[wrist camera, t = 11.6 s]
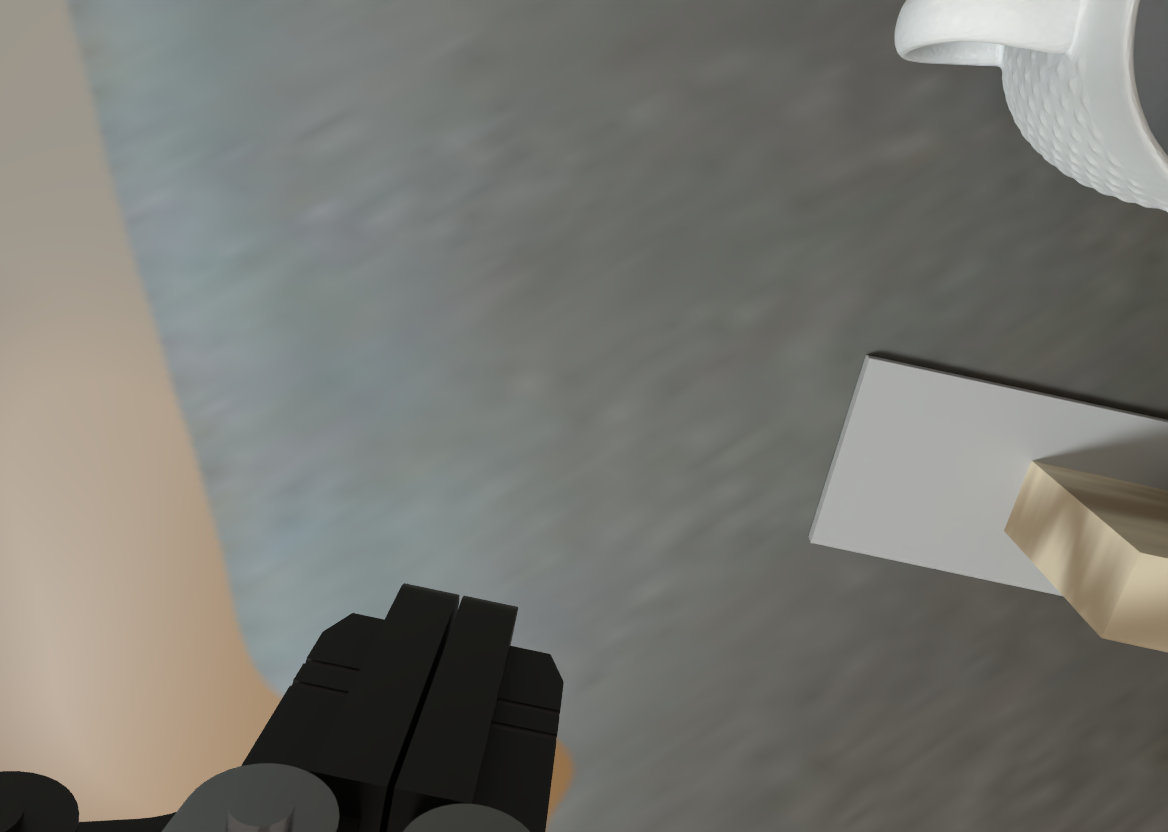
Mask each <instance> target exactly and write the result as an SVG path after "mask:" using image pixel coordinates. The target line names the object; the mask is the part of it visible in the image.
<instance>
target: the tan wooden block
mask: <svg viewBox="0 0 1168 832" xmlns="http://www.w3.org/2000/svg"><path fill="white" fill-rule="evenodd" d="M1004 531H1005V533H1006V534H1007V535H1008V536H1009V537H1010V538H1011V539H1012V540H1013V541H1014V542H1015V544H1016V545H1017V546H1018V547H1019V548H1020V549H1021V550H1022V551H1023V552H1024V553H1025V555H1026V556H1027V557H1028V558H1029V559H1030V560H1031V561H1032V562H1033V563H1034V564H1035V566H1036V567H1037V568H1038V569H1039V570H1040V571H1041V572H1042V573H1043V574H1044V575H1045V577H1046V578H1047V579H1048V580H1049V581H1050V582H1051V583H1052V584H1053V585H1054V586H1055V588H1056V589H1057V590H1058V591H1059V592H1060V593H1061V594H1062V595H1063V596H1064V597H1065V598H1066V600H1067V601H1068V602H1069V603H1070V604H1071V605H1072V606H1073V607H1074V608H1075V609H1076V611H1077V612H1078V613H1079V614H1080V615H1081V616H1082V617H1083V618H1084V619H1085V620H1086V622H1087V623H1088V624H1089V625H1090V626H1091V627H1092V628H1093V629H1094V630H1095V631H1096V633H1097V634H1098V635H1099V636H1100V637H1101V638H1104V639H1108V640H1113V641H1118V642H1122V643H1127V644H1132V645H1136V646H1141V647H1145V648H1150V649H1155V650H1159V651H1164V652H1168V490H1164V489H1159V488H1154V487H1150V486H1145V485H1141V484H1136V483H1132V482H1127V481H1122V480H1118V479H1113V478H1109V477H1104V476H1100V475H1095V474H1090V473H1086V472H1081V471H1077V470H1072V469H1067V468H1063V467H1058V466H1054V465H1049V464H1045V463H1040V462H1035V461H1031V464H1030V466H1029V469H1028V471H1027V474H1026V476H1025V479H1024V481H1023V484H1022V486H1021V489H1020V491H1019V494H1018V496H1017V499H1016V502H1015V504H1014V507H1013V509H1012V512H1011V514H1010V517H1009V519H1008V522H1007V524H1006V527H1005V529H1004Z"/></svg>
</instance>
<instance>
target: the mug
mask: <svg viewBox="0 0 1168 832" xmlns="http://www.w3.org/2000/svg"><path fill="white" fill-rule="evenodd" d="M895 47H896V50H897V52H898V54H899V55H900V56H901V57H902V58H904V59H906V60H908V61H914V62H922V63H934V64H956V65H979V66H999V67H1000V68H1001V69H1002V73H1003V74H1002V81H1003V89H1004V92H1005V95H1006V102H1007V104H1008V108H1009V110H1010V111H1011V114H1012V115H1013V118H1014V121H1015V124H1016V125H1017V126H1018V128H1019V129H1020V130H1021V133H1022V136H1023V137H1024V138H1026V140H1027V141H1028V142H1030V143H1031V145H1032V147H1033V148H1034V149H1035V150H1036V151H1037V152H1038V153H1040V154H1041V155H1042V156H1043V158H1044V159H1045V160H1047V161H1048V162H1049V163H1050V164H1052V165H1054V166H1056V167H1057V168H1058V169H1059V170H1060V171H1061V172H1063V173H1064V174H1065V175H1067V176H1069V177H1072V178H1074V179H1076V181H1077V182H1079V183H1080V184H1082V185H1084V186H1087V187H1092V188H1094V189H1096V190H1097V191H1098V192H1099V193H1102V194H1104V195H1110V196H1115V197H1117V198H1119V199H1120V200H1122V201H1125V202H1129V203H1137V204H1139V205H1142V206H1144V207H1148V208H1159V209H1162V210H1165V211H1167V212H1168V0H907V1H906V2H905V3H904V5H903V7H902V9H901V11H900V14H899V16H898V19H897V24H896V29H895Z"/></svg>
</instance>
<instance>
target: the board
mask: <svg viewBox="0 0 1168 832" xmlns="http://www.w3.org/2000/svg"><path fill="white" fill-rule="evenodd" d="M1031 461H1035V462H1040V463H1045V464H1049V465H1054V466H1058V467H1063V468H1067V469H1072V470H1077V471H1081V472H1086V473H1090V474H1095V475H1100V476H1104V477H1109V478H1113V479H1118V480H1122V481H1127V482H1132V483H1136V484H1141V485H1145V486H1150V487H1154V488H1159V489H1164V490H1168V420H1167V419H1162V418H1157V417H1153V416H1148V415H1143V414H1139V413H1134V412H1129V411H1125V410H1120V409H1116V408H1111V407H1106V406H1102V405H1097V404H1092V403H1088V402H1083V401H1078V400H1074V399H1069V398H1065V397H1060V396H1055V395H1051V394H1046V393H1041V392H1037V391H1032V390H1027V389H1023V388H1018V387H1014V386H1009V385H1004V384H1000V383H995V382H990V381H986V380H981V379H977V378H972V377H967V376H963V375H958V374H953V373H949V372H944V371H939V370H935V369H930V368H926V367H921V366H916V365H912V364H907V363H902V362H898V361H893V360H888V359H884V358H879V357H875V356H870V355H866V357H865V360H864V363H863V366H862V369H861V373H860V376H859V379H858V382H857V385H856V388H855V391H854V395H853V398H852V401H851V404H850V407H849V410H848V414H847V417H846V420H845V423H844V426H843V429H842V432H841V436H840V439H839V442H838V445H837V448H836V451H835V455H834V458H833V461H832V464H831V467H830V470H829V474H828V477H827V480H826V483H825V486H824V489H823V492H822V496H821V499H820V502H819V505H818V508H817V511H816V515H815V518H814V521H813V524H812V527H811V530H810V533H809V539H810V542H811V543H815V544H820V545H825V546H829V547H834V548H839V549H843V550H848V551H853V552H858V553H862V554H867V555H872V556H876V557H881V558H886V559H891V560H895V561H900V562H905V563H909V564H914V565H919V566H924V567H928V568H933V569H938V570H942V571H947V572H952V573H957V574H961V575H966V576H971V577H975V578H980V579H985V580H990V581H994V582H999V583H1004V584H1008V585H1013V586H1018V587H1023V588H1027V589H1032V590H1037V591H1041V592H1046V593H1051V594H1055V595H1060V596H1063V595H1062V594H1061V593H1060V592H1059V591H1058V590H1057V589H1056V588H1055V586H1054V585H1053V584H1052V583H1051V582H1050V581H1049V580H1048V579H1047V578H1046V577H1045V575H1044V574H1043V573H1042V572H1041V571H1040V570H1039V569H1038V568H1037V567H1036V566H1035V564H1034V563H1033V562H1032V561H1031V560H1030V559H1029V558H1028V557H1027V556H1026V555H1025V553H1024V552H1023V551H1022V550H1021V549H1020V548H1019V547H1018V546H1017V545H1016V544H1015V542H1014V541H1013V540H1012V539H1011V538H1010V537H1009V536H1008V535H1007V534H1006V533H1005V531H1004V529H1005V527H1006V524H1007V522H1008V519H1009V517H1010V514H1011V512H1012V509H1013V507H1014V504H1015V502H1016V499H1017V496H1018V494H1019V491H1020V489H1021V486H1022V484H1023V481H1024V479H1025V476H1026V474H1027V471H1028V469H1029V466H1030V464H1031Z"/></svg>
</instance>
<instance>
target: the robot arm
mask: <svg viewBox="0 0 1168 832" xmlns="http://www.w3.org/2000/svg"><path fill="white" fill-rule="evenodd" d="M458 605H459V595H457V594H453V593H448V592H443V591H438V590H434V589H429V588H424V587H419V586H415V585H410V584H405V583H404V584H403V585H402V586H401V588H400V590H399V592H398V594H397V596H396V598H395V600H394V602H393V604H392V606H391V608H390V610H389V612H388V614H387V616H386V618H385V620H383V619H379V618H374V617H369V616H364V615H359V614H355V613H352V614H350V615H349V616H347V617H346V618H344V619H342V620H341V621H339V622H338V623H336V624H335V625H333V626H331V627H330V628H328V629H327V630H325V631H323V632H322V634H321V636H320V637H319V639H318V641H317V642H316V644H315V645H314V647H313V649H312V650H311V652H310V654H309V655H308V657H307V660H306V663H305V664H303V665H302V667H301V668H300V670H299V672H298V673H297V675H296V677H295V678H294V680H293V684H292V686H290V687H289V688H288V690H287V692H286V693H285V695H284V696H283V698H282V700H281V701H280V703H279V705H278V706H277V708H276V710H275V711H274V713H273V715H272V716H271V718H270V719H269V721H268V723H267V724H266V726H265V728H264V729H263V731H262V733H261V734H260V736H259V738H258V739H257V741H256V742H255V744H254V746H253V748H252V749H251V751H250V753H249V754H248V756H247V758H246V759H245V761H244V762H243V764H242V766H240V767H237V768H233V769H229V770H227V771H225V772H222V773H220V774H217V775H216V776H214V777H212V778H211V779H209V780H207V781H206V782H204V783H203V784H202V785H200V786H199V787H198V788H197V789H196V790H195V791H194V792H193V793H192V794H191V795H190V796H189V797H188V798H187V800H186V801H185V802H184V803H183V805H182V806H181V807H180V809H179V810H178V811H177V812H175V813H172V814H168V815H163V816H158V817H152V818H143V819H129V820H111V821H92V822H79V811H78V805H77V802H76V800H75V798H74V796H73V795H72V793H71V792H70V791H69V790H68V789H67V788H66V787H65V786H64V785H62V784H60V783H59V782H58V781H56V780H53V779H51V778H49V777H46V776H43V775H38V774H35V773H28V772H20V771H11V772H10V771H3V772H0V832H545V829H546V821H547V813H548V804H549V797H550V788H551V780H552V772H553V763H554V756H555V748H556V737H557V731H558V723H559V713H560V707H561V699H562V691H563V683H564V682H563V680H562V678H561V676H560V673H559V671H558V669H557V667H556V665H555V663H554V661H553V659H552V657H551V655H550V654H547V653H542V652H537V651H533V650H528V649H523V648H518V647H513V646H510V645H511V640H512V635H513V631H514V626H515V621H516V616H517V611H518V607H516V606H511V605H506V604H501V603H497V602H492V601H487V600H482V599H477V598H473V597H468V596H463V598H462V600H461V603H460V606H459V609H458Z"/></svg>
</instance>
